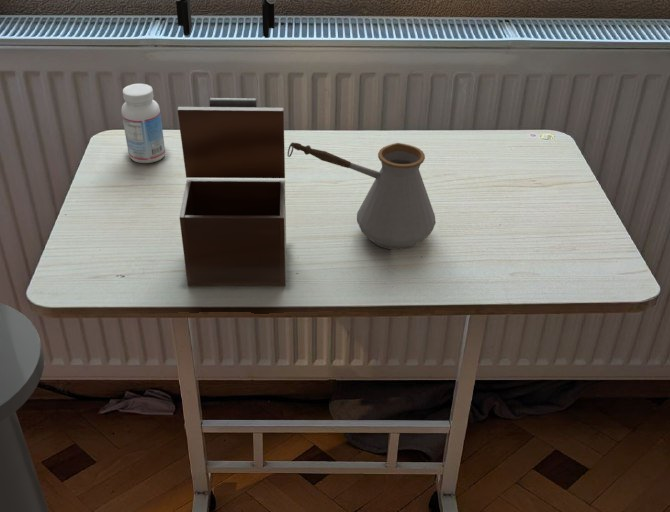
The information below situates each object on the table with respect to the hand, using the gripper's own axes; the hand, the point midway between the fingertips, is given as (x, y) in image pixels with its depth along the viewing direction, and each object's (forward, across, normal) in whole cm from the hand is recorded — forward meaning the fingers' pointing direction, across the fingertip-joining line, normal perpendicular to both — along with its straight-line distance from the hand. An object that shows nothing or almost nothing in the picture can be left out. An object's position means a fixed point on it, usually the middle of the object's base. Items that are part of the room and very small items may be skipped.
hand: (227, 32), depth 103 cm
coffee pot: (+28, +18, -1) cm, 34 cm away
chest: (+28, +1, -9) cm, 30 cm away
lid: (+12, 0, -5) cm, 13 cm away
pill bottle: (+28, -16, +23) cm, 40 cm away
